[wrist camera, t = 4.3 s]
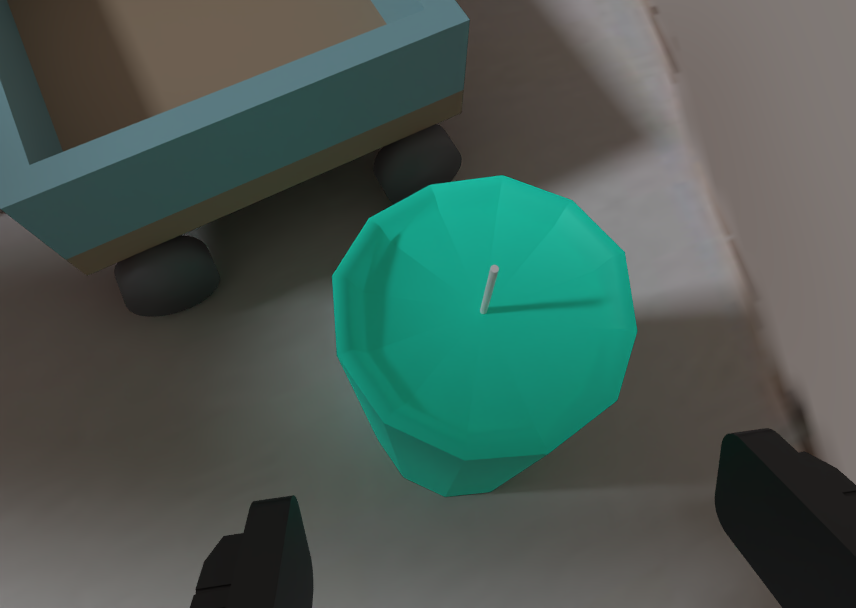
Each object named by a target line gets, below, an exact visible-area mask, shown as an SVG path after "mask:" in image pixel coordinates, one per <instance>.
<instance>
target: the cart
mask: <svg viewBox="0 0 856 608" xmlns="http://www.w3.org/2000/svg"><path fill="white" fill-rule="evenodd" d="M469 22H470V19H469V18H468V17H467V15H466V14H465V13H464V11H463V10H462V9H461V7H460V6H459V5H458V3H457V2H456V1H455V0H0V209H1V210H3V211H4V212H5V213H6V214H8V215H9V216H10V217H12V218H13V219H14V220H15V221H17V222H18V223H19V224H21V225H22V226H23V227H24V228H26V229H27V230H28V231H30V232H31V233H32V234H33V235H35V236H36V237H37V238H39V239H40V240H41V241H42V242H44V243H45V244H46V245H48V246H49V247H50V248H52V249H53V250H54V251H55V252H57V253H58V254H59V255H61V256H62V257H63V258H64V259H66V260H67V261H68V262H70V263H71V264H72V265H73V266H75V267H76V268H77V269H79V270H80V271H81V272H82V273H84V274H85V275H86V276H88V275H90V274H92V273H95V272H97V271H99V270H101V269H104V268H106V267H108V266H111V265H113V264H115V263H117V265H116V267H115V271H114V274H115V278H116V280H117V283H118V286H119V288H120V291H121V294H122V296H123V299H124V302H125V304H126V307H127V308H128V309H129V310H130V311H131V312H133V313H135V314H138V315H142V316H163V315H169V314H173V313H177V312H180V311H183V310H186V309H188V308H191V307H193V306H195V305H197V304H198V303H200V302H202V301H203V300H205V299H206V298H207V297H208V296H210V295H211V294H212V293H213V292H214V290H215V289H216V288H217V286H218V284H219V280H220V277H219V273H218V271H217V269H216V267H215V264H214V262H213V260H212V258H211V255H210V253H209V251H208V249H207V247H206V245H205V244H204V243H203V242H202V241H200V240H199V239H197V238H194V237H190V236H182V234H184V233H186V232H189V231H191V230H193V229H196V228H198V227H200V226H203V225H205V224H207V223H209V222H212V221H214V220H216V219H219V218H221V217H223V216H226V215H228V214H230V213H232V212H235V211H237V210H239V209H242V208H244V207H246V206H249V205H251V204H253V203H255V202H258V201H260V200H262V199H265V198H267V197H269V196H272V195H274V194H276V193H278V192H281V191H283V190H285V189H288V188H290V187H292V186H295V185H297V184H299V183H301V182H304V181H306V180H308V179H311V178H313V177H315V176H318V175H320V174H322V173H324V172H327V171H329V170H331V169H334V168H336V167H338V166H340V165H343V164H345V163H347V162H350V161H352V160H354V159H357V158H359V157H361V156H363V155H366V154H368V153H370V152H373V151H375V150H377V149H380V148H382V147H383V148H382V149H381V150H380V152H379V153H378V155H377V157H376V159H375V162H374V166H373V171H374V174H375V176H376V178H377V180H378V181H379V183H380V185H381V186H382V188H383V190H384V191H385V193H386V195H387V196H388V198H389V200H390V201H391V202H392V203H394V204H396V203H398V202H399V201H401V200H403V199H405V198H407V197H409V196H410V195H412V194H414V193H416V192H418V191H420V190H421V189H423V188H425V187H427V186H429V185H432V184H439V183H447V182H450V181H451V180H452V179H453V178H454V176H455V175H456V174H457V172H458V170H459V168H460V165H461V155H460V153H459V151H458V150H457V148H456V147H455V145H454V144H453V142H452V141H451V139H450V138H449V136H448V135H447V133H446V132H445V130H444V129H443V128H442V127H441V126H439V125H437V123H439V122H442V121H444V120H446V119H449V118H451V117H453V116H455V115H458V114H460V113H461V112H462V101H463V89H464V78H465V67H466V56H467V44H468V33H469Z"/></svg>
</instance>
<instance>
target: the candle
mask: <svg viewBox="0 0 856 608" xmlns="http://www.w3.org/2000/svg"><path fill="white" fill-rule="evenodd" d="M332 284H333V300H334V317H335V333H336V350H337V357H338V359H339V361H340V363H341V365H342V367H343V369H344V371H345V373H346V375H347V377H348V379H349V381H350V384H351V386H352V388H353V390H354V392H355V394H356V396H357V398H358V400H359V402H360V404H361V406H362V408H363V410H364V412H365V414H366V416H367V418H368V420H369V422H370V425H371V427H372V429H373V431H374V433H375V435H376V437H377V439H378V441H379V442H380V444H381V445H382V447H383V448H384V450H385V451H386V452H387V454H388V455H389V457H390V458H391V460H392V461H393V463H394V464H395V466H396V467H397V469H398V470H399V472H400V473H401V475H402V476H403V477H404V478H406V479H408V480H410V481H412V482H414V483H416V484H418V485H421V486H423V487H425V488H427V489H429V490H431V491H433V492H435V493H438V494H440V495H442V496H444V497H449V496H459V495H468V494H477V493H486V492H491V491H493V490H494V489H496V488H497V487H499V486H500V485H502V484H503V483H505V482H506V481H508V480H509V479H511V478H513V477H514V476H516V475H517V474H519V473H520V472H522V471H523V470H525V469H526V468H528V467H529V466H531V465H532V464H534V463H535V462H537V461H538V460H540V459H541V458H543V457H544V456H546V455H548V454H549V453H550V452H552V451H553V450H554V449H555V448H557V447H558V446H559V445H561V444H562V443H563V442H564V441H566V440H567V439H568V438H570V437H571V436H572V435H573V434H575V433H576V432H577V431H579V430H580V429H581V428H582V427H584V426H585V425H586V424H588V423H589V422H590V421H592V420H593V419H594V418H595V417H597V416H598V415H599V414H601V413H602V412H603V411H604V410H606V409H607V408H608V407H610V406H611V405H612V404H613V403H615V402H616V401H617V400H618V397H619V393H620V390H621V386H622V383H623V379H624V376H625V372H626V369H627V365H628V362H629V359H630V355H631V352H632V348H633V345H634V341H635V338H636V334H637V325H636V319H635V313H634V307H633V300H632V294H631V288H630V282H629V276H628V269H627V263H626V257H625V252H624V251H623V250H622V249H621V248H620V247H619V246H618V245H617V244H616V243H615V242H614V241H613V240H612V239H611V238H610V237H609V236H608V235H607V234H606V233H605V232H604V231H603V230H602V229H601V228H600V227H599V226H598V225H597V224H596V223H595V222H594V221H593V220H592V219H591V218H590V217H589V216H588V215H587V214H586V213H585V212H584V211H583V210H582V209H581V208H580V207H579V206H578V205H577V204H576V203H575V202H574V201H573V200H570V199H568V198H565V197H562V196H559V195H556V194H554V193H551V192H548V191H545V190H543V189H540V188H537V187H534V186H531V185H529V184H526V183H523V182H520V181H518V180H515V179H512V178H509V177H506V176H504V175H500V176H492V177H485V178H477V179H470V180H462V181H455V182H447V183H439V184H432V185H429V186H427V187H425V188H423V189H421V190H420V191H418V192H416V193H414V194H412V195H410V196H409V197H407V198H405V199H403V200H401V201H399V202H398V203H396V204H394V205H392V206H390V207H388V208H387V209H385V210H383V211H381V212H379V213H377V214H376V215H374V216H372V217H370V218H369V219H368V220H367V222H366V224H365V225H364V227H363V228H362V230H361V231H360V233H359V234H358V236H357V238H356V239H355V241H354V242H353V244H352V245H351V247H350V249H349V250H348V252H347V253H346V255H345V256H344V258H343V259H342V261H341V263H340V264H339V266H338V267H337V269H336V270H335V272H334V274H333V275H332Z"/></svg>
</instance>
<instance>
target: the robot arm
mask: <svg viewBox="0 0 856 608" xmlns="http://www.w3.org/2000/svg"><path fill="white" fill-rule="evenodd" d="M715 507H716V512H717V515H718V518H719V521H720V523H721V525H722V527H723V529H724V531H725V532H726V534H727V535H728V536H729V538H730V539H731V540H732V542H733V543H734V544H735V546H736V547H737V548H738V550H739V551H740V552H741V554H742V555H743V556H744V558H745V559H746V560H747V561H748V563H749V564H750V565H751V567H752V568H753V569H754V571H755V572H756V573H757V575H758V576H759V577H760V579H761V580H762V581H763V583H764V584H765V585H766V587H767V588H768V589H769V591H770V592H771V593H772V594H773V596H774V597H775V598H776V600H777V601H778V602H779V604H780V605H781V606H782V608H856V485H855V484H854V483H853V482H852V481H850V480H849V479H848V478H847V477H846V476H845V475H844V474H843V473H841V472H840V471H839V470H838V469H837V468H835V467H833V466H831V465H829V464H828V463H826V462H824V461H822V460H820V459H818V458H816V457H814V456H812V455H811V454H809V453H807V452H799V453H798V452H797V451H796V450H795V449H794V448H793V447H792V446H791V445H790V444H788V443H787V442H786V441H785V440H784V439H783V438H782V437H781V436H780V435H779V434H778V433H776V432H775V431H773V430H772V429H768V428H765V429H758V430H751V431H744V432H737V433H731V434H727V435H726V436H725V437H724V438H723V441H722V445H721V453H720V460H719V468H718V476H717V484H716V491H715ZM312 601H313V569H312V561H311V556H310V551H309V547H308V543H307V539H306V534H305V530H304V526H303V522H302V517H301V513H300V509H299V505H298V501H297V499H296V497H295V496H294V495H293V496H286V497H279V498H272V499H266V500H259V501H253V502H252V504H251V506H250V509H249V513H248V517H247V521H246V525H245V529H244V533H241V534H234V535H228V536H223V538H222V539H221V540H220V541H219V543H218V544H217V545H216V547H215V548H214V549H213V551H212V552H211V553H210V555H209V556H208V557H207V559H206V560H205V561H204V564H203V567H202V570H201V574H200V577H199V580H198V583H197V586H196V595H194V596H193V599H192V603H191V606H190V608H312Z"/></svg>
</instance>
